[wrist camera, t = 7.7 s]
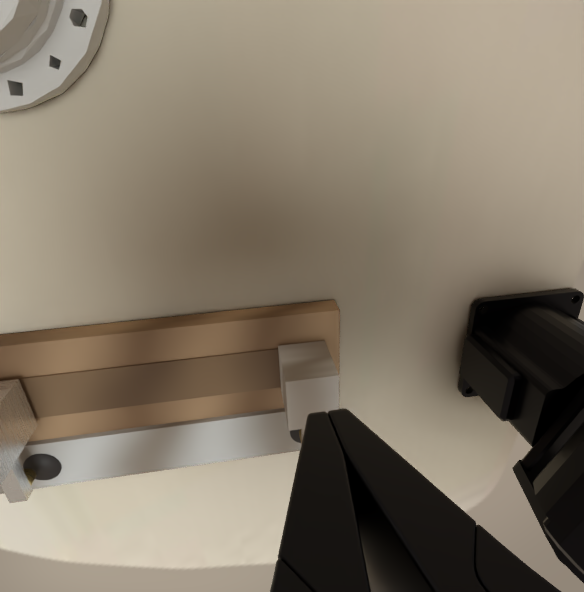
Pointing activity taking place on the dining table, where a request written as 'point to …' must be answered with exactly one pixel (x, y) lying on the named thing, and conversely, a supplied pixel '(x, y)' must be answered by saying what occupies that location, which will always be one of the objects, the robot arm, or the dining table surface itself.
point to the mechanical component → (46, 47)
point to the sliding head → (15, 440)
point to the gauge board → (173, 389)
